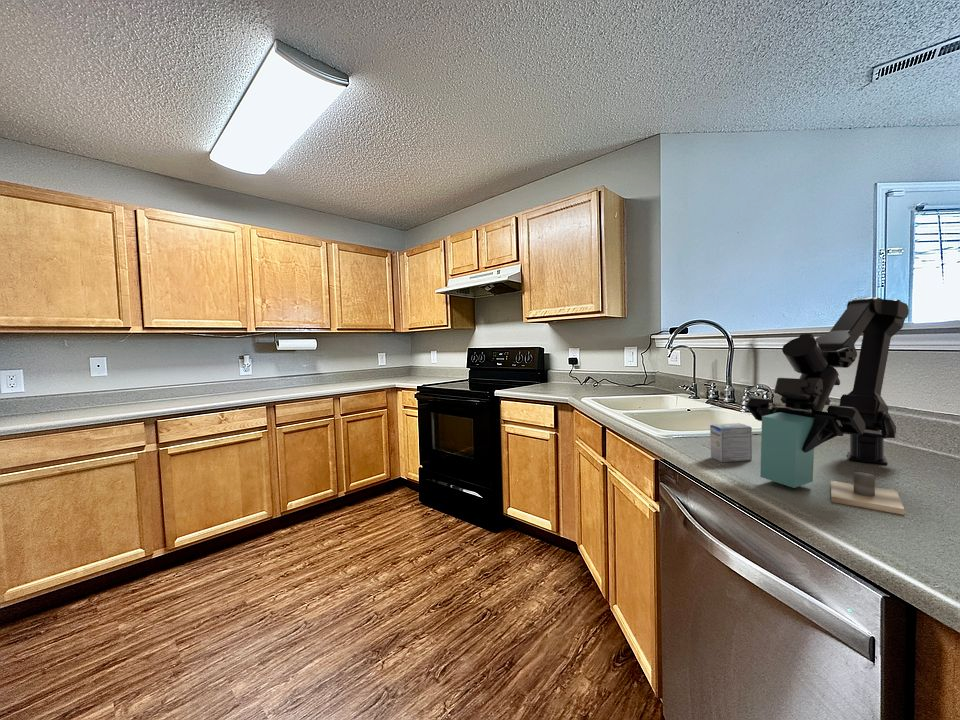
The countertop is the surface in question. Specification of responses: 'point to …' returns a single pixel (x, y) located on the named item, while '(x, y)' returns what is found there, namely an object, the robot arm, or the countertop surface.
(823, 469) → the countertop surface
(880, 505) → the peg stand
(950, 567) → the countertop surface
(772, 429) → the teal tall cube
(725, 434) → the medicine box
